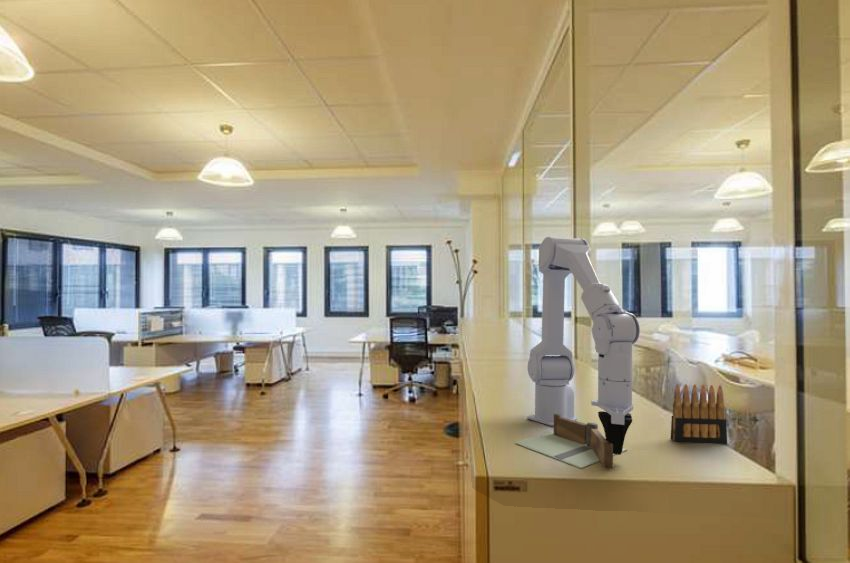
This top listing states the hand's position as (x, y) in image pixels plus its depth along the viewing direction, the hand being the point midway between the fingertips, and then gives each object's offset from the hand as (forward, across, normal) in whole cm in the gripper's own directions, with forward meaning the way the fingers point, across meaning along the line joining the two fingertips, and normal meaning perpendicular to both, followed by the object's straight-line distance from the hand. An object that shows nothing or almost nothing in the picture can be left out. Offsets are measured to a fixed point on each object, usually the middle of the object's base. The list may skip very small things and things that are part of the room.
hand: (614, 453), depth 78 cm
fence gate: (+1, 0, -2) cm, 2 cm away
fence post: (+1, -9, -7) cm, 11 cm away
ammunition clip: (+2, -19, +18) cm, 26 cm away
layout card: (+1, -5, -8) cm, 9 cm away
